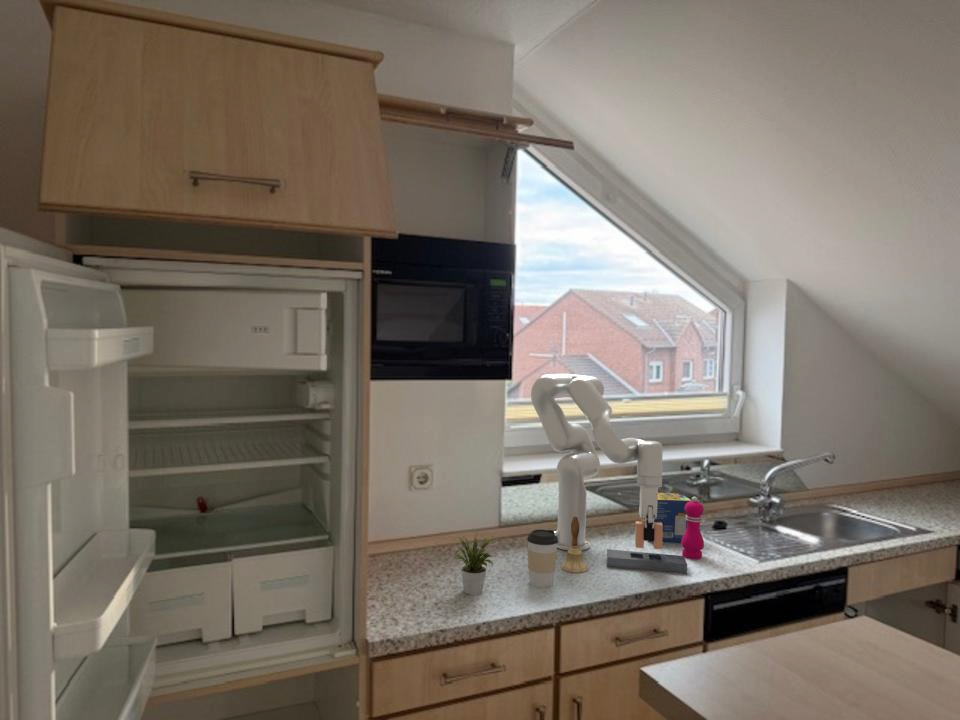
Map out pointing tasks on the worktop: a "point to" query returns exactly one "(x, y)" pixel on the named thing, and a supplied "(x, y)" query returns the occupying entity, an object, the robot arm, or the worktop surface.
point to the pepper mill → (693, 530)
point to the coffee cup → (542, 557)
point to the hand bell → (574, 552)
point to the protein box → (672, 516)
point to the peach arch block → (640, 535)
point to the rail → (646, 561)
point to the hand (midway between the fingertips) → (648, 538)
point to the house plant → (474, 566)
